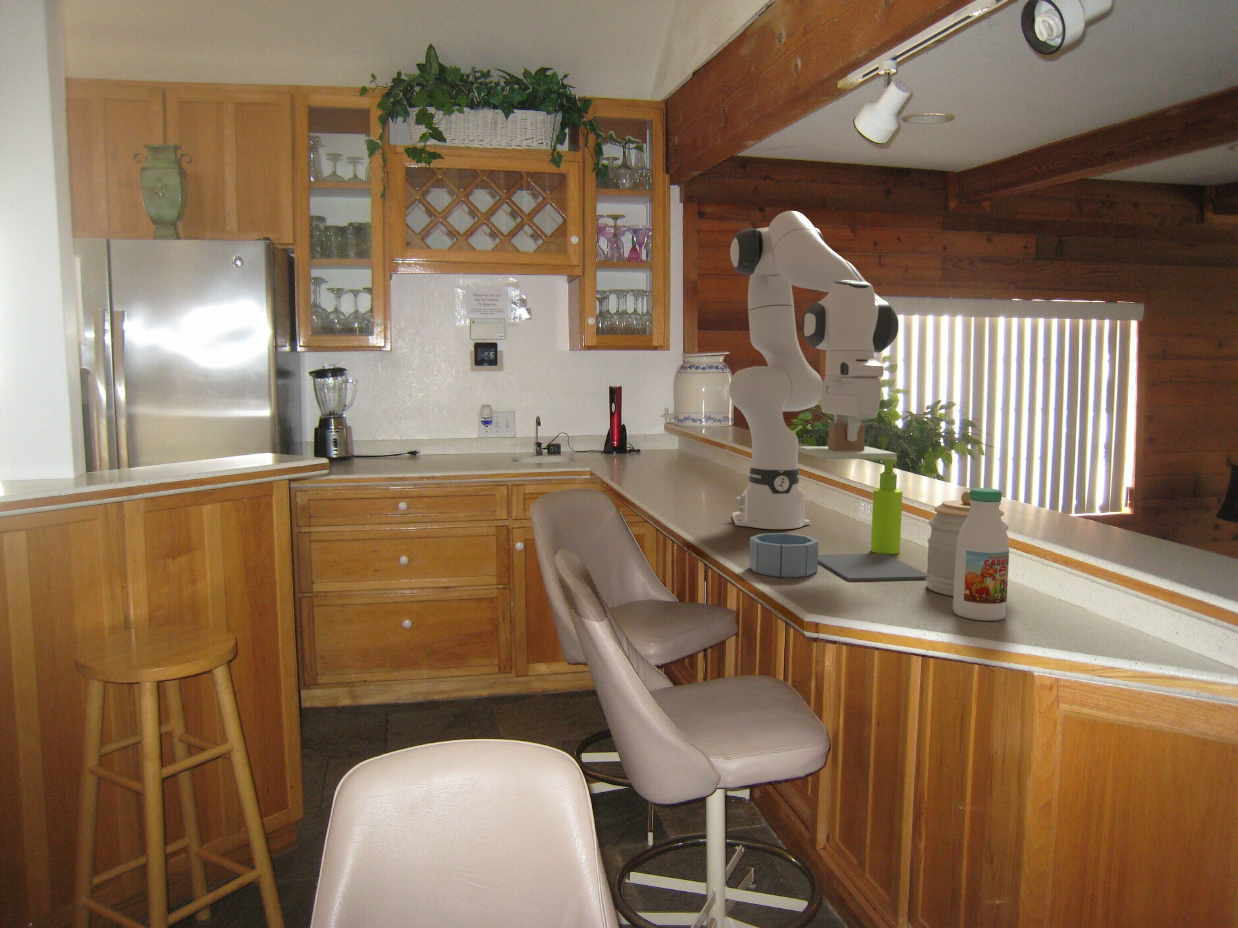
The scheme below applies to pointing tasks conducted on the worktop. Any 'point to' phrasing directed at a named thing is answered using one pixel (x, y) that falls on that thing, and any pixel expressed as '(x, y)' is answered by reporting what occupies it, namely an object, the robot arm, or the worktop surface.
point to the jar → (946, 543)
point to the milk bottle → (982, 560)
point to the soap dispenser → (886, 512)
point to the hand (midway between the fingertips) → (846, 439)
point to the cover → (846, 446)
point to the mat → (869, 567)
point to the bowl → (783, 555)
